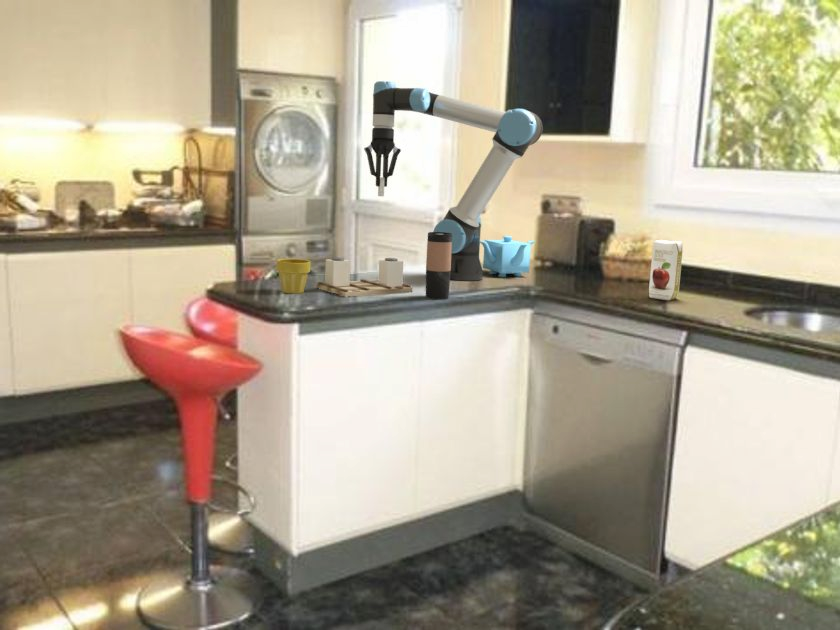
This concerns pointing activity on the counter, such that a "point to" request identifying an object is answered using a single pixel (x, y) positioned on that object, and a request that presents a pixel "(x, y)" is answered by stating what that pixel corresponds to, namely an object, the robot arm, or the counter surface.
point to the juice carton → (665, 269)
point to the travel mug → (438, 265)
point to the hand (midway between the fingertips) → (380, 196)
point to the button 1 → (337, 272)
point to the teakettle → (506, 256)
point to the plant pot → (293, 274)
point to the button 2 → (390, 272)
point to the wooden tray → (365, 288)
